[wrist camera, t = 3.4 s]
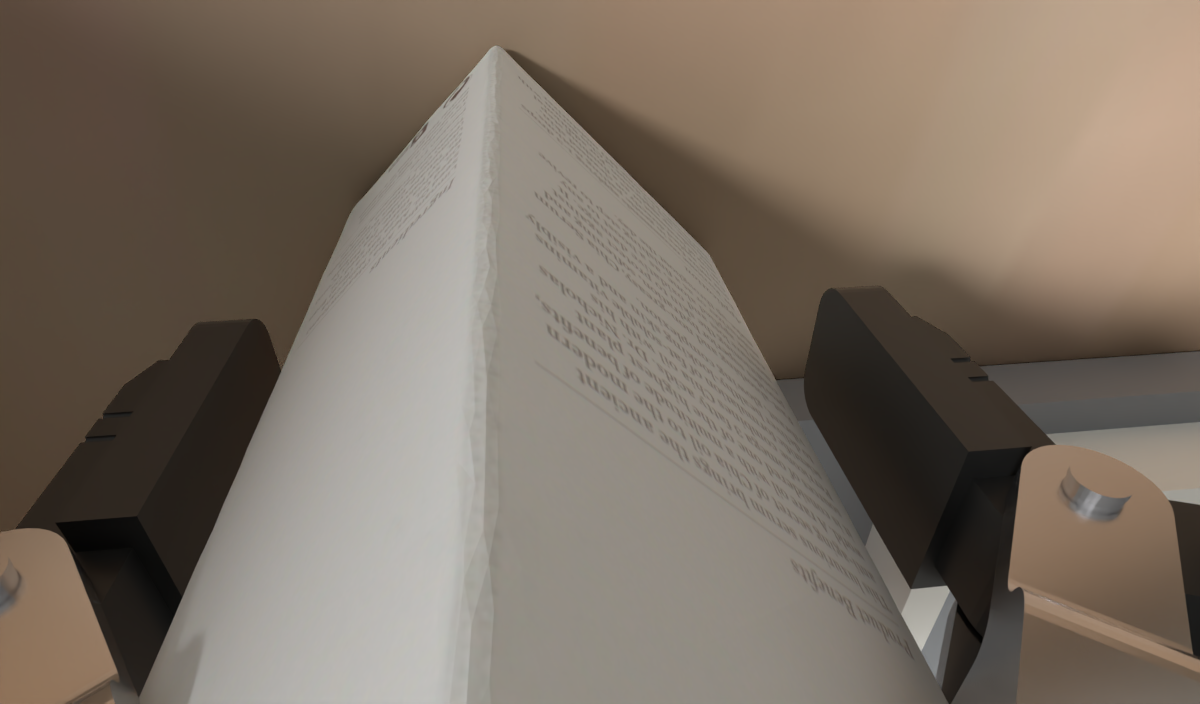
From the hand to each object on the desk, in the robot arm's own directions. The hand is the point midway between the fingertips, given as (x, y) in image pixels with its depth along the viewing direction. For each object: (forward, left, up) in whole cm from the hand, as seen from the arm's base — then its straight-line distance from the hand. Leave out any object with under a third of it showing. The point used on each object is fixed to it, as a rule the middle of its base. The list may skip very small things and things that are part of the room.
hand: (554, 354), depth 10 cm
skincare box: (0, 0, -4) cm, 4 cm away
